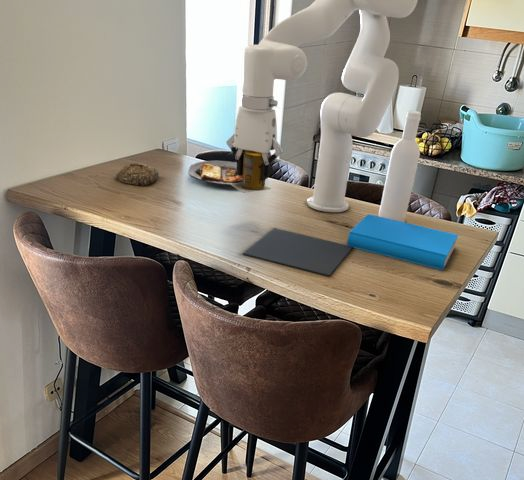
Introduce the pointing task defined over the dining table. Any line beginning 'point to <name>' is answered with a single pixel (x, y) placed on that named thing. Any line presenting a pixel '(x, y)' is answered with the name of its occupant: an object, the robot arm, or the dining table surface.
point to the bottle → (401, 171)
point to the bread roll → (137, 174)
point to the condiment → (251, 173)
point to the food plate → (216, 172)
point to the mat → (299, 251)
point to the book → (403, 241)
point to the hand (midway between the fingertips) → (252, 176)
